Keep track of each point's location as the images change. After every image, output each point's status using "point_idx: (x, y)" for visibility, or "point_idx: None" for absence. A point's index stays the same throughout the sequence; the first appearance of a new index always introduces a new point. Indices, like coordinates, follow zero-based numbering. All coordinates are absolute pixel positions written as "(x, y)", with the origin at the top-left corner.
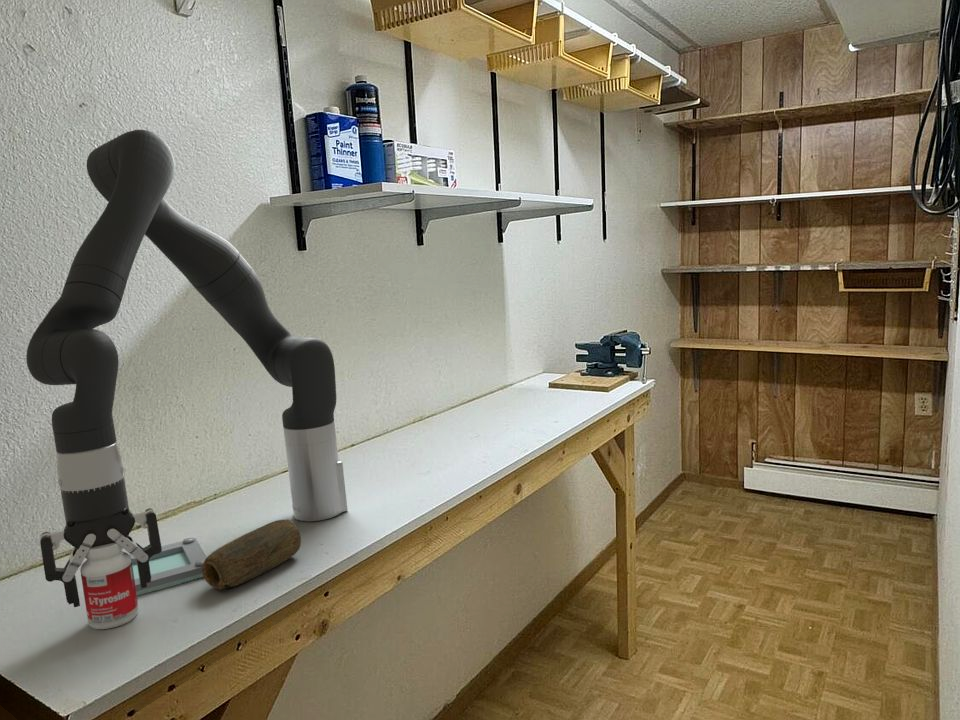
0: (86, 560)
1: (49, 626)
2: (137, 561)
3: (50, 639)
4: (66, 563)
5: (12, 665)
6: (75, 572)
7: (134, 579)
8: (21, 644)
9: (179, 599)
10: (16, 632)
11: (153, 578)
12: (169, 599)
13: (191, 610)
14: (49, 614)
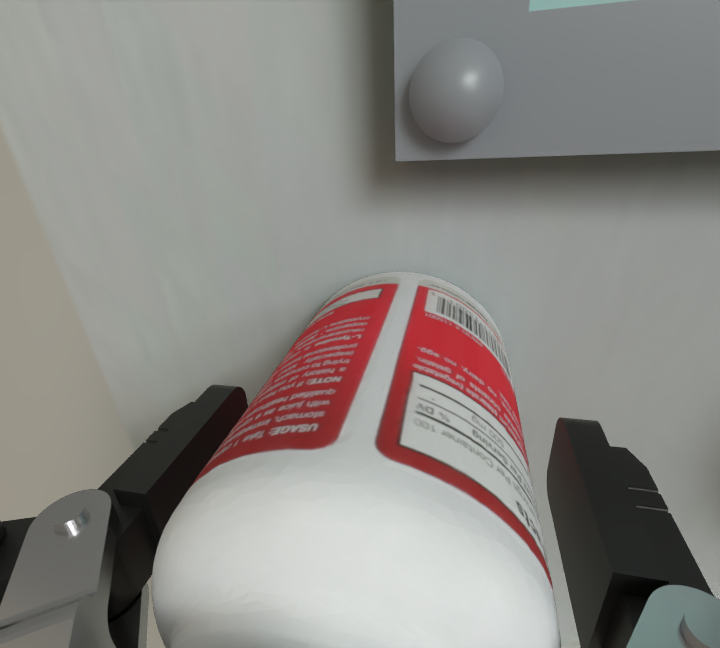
0: (166, 623)
1: (164, 233)
2: (601, 618)
3: (197, 352)
4: (12, 594)
5: (136, 434)
6: (143, 637)
7: (584, 14)
8: (112, 321)
9: (712, 365)
10: (53, 199)
11: (711, 110)
12: (672, 330)
13: (695, 497)
14: (125, 81)
